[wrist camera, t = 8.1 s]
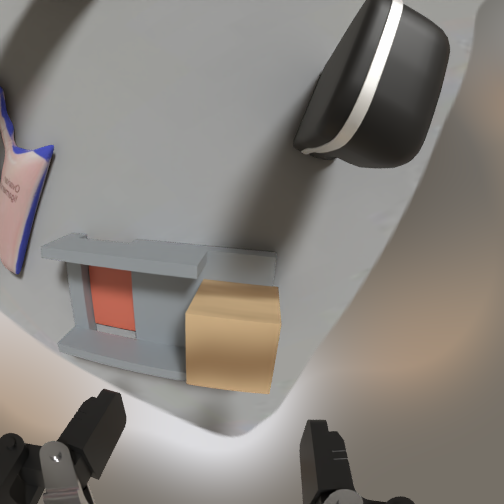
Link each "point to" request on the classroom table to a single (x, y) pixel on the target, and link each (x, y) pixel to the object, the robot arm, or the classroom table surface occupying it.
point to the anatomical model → (18, 192)
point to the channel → (144, 296)
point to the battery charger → (377, 89)
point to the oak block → (232, 336)
